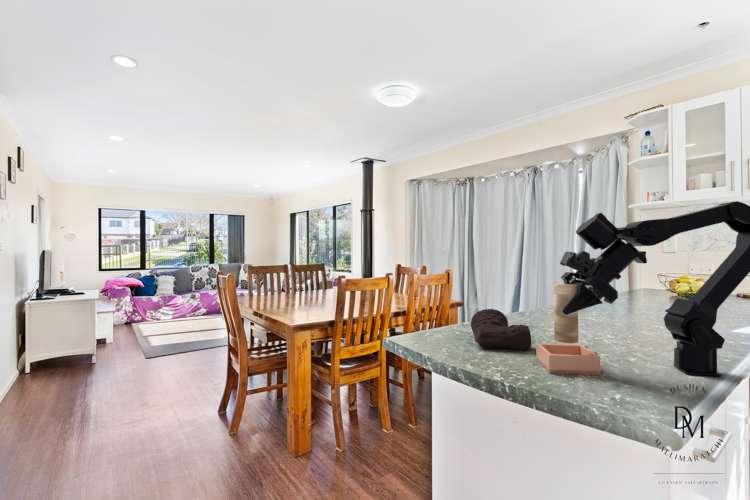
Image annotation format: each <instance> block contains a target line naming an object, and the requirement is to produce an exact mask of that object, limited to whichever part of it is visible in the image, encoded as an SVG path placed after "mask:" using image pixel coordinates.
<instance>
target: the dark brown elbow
mask: <svg viewBox="0 0 750 500" xmlns="http://www.w3.org/2000/svg"><path fill="white" fill-rule="evenodd" d="M470 326H471V327H470V328H471V331H472V335H473V337H474V341H475V343H477V344H478V345H479V347H482V348H490V349H494V348H508V349H511V350H518V351H525V350H529V349H531V348H532V335H531V330H530V327H529V326H528V325H526V324H512V325H509V321H508V318H507V316H506V315H505V314H504V313H503V312H502V311H500V310H498V309H495V308H486V309H481V310H479V311H477V312H476V313H474V315H472V317H471V320H470Z"/></svg>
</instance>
